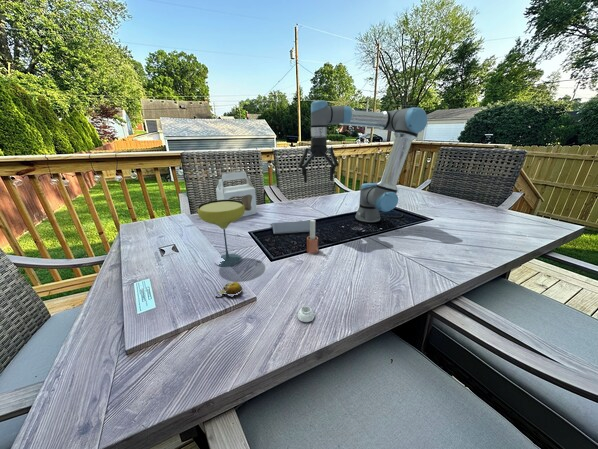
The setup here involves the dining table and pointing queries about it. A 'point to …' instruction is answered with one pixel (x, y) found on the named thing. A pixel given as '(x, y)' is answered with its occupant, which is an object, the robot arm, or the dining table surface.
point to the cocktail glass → (222, 221)
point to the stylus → (312, 229)
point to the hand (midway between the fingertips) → (318, 181)
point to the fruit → (232, 289)
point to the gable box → (238, 191)
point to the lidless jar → (305, 314)
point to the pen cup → (312, 245)
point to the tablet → (291, 227)
